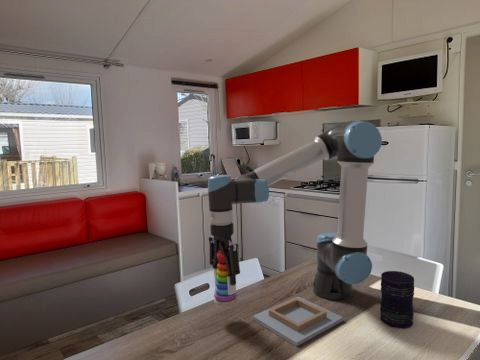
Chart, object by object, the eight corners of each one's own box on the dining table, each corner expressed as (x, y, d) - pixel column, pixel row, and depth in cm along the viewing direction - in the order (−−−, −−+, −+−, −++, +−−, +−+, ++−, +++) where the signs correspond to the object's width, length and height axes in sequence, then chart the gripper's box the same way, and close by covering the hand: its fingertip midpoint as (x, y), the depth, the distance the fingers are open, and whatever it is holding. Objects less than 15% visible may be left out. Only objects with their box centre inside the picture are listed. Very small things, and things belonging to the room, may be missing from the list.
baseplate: (298, 299, 130) (298, 291, 130) (343, 320, 114) (343, 311, 114) (252, 319, 117) (252, 310, 116) (296, 346, 101) (296, 336, 101)
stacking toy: (235, 309, 112) (232, 253, 110) (211, 307, 114) (207, 252, 111) (240, 298, 120) (237, 245, 117) (217, 296, 121) (214, 244, 119)
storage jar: (407, 332, 106) (408, 285, 104) (375, 321, 113) (376, 277, 111) (417, 319, 114) (418, 275, 112) (386, 310, 120) (387, 268, 118)
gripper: (196, 219, 119) (200, 284, 122) (230, 230, 103) (233, 304, 106) (214, 216, 123) (218, 278, 126) (249, 225, 108) (252, 296, 111)
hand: (225, 289), depth 116 cm, fingers closed on stacking toy, 7 cm apart
